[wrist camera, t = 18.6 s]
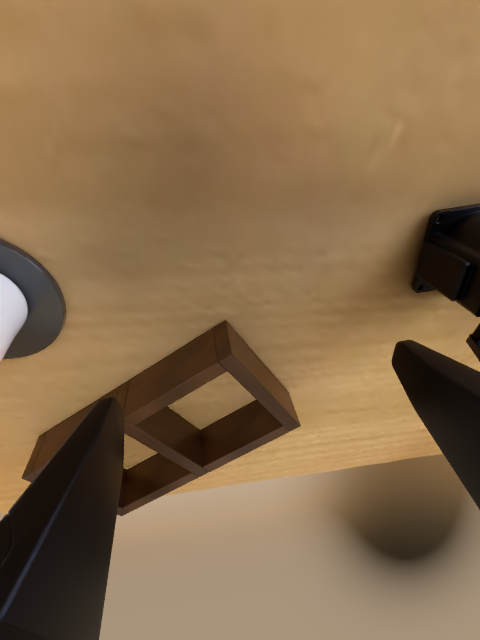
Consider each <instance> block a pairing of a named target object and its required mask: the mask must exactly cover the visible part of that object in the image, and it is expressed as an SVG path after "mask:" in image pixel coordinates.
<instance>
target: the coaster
mask: <svg viewBox="0 0 480 640" xmlns="http://www.w3.org/2000/svg"><path fill="white" fill-rule="evenodd" d="M0 273H1V274H2V275H4V276H6V277H7V278H8V279H10V280H11V281H12V282H13V283H14V284H15V285H16V286H17V287H18V288H19V289H20V290H21V292H22V293H23V295H24V297H25V299H26V302H27V306H28V314H27V319H26V321H25V323H24V325H23V326H22V328H21V329H20V331H19V332H18V334H17V335H16V336H15V338H14V340H13V341H12V343H11V345H10V347H9V349H8V350H7V352H6V354H5V356H4V358H3V359H12V358H20V357H25V356H29V355H32V354H35V353H37V352H39V351H41V350H43V349H45V348H46V347H48V346H49V345H50V344H51V343H52V342H53V341H54V340H55V339H56V338H57V336H58V335H59V333H60V331H61V329H62V327H63V325H64V321H65V313H66V311H65V303H64V299H63V296H62V294H61V291H60V289H59V287H58V286H57V284H56V282H55V281H54V279H53V278H52V277H51V275H50V274H49V273H48V272H47V271H46V270H45V269H44V268H43V267H42V266H41V265H40V264H39V263H38V262H37V261H36V260H34V259H33V258H32V257H31V256H29V255H28V254H26V253H25V252H23V251H22V250H20V249H19V248H17V247H15V246H13V245H11V244H9V243H7V242H5V241H3V240H0Z"/></svg>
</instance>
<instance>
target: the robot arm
mask: <svg viewBox="0 0 480 640" xmlns="http://www.w3.org/2000/svg"><path fill="white" fill-rule="evenodd" d="M439 216H440V217H439ZM438 217H439V219H438V220H437V218H438ZM436 220H437V221H436ZM419 285H420V286H419ZM418 286H419V287H418ZM412 290H414V291H415V292H416V293H421V292H426V291H432V290H437V291H439V292H440V293H441V294H443V295H444V296H445V297H447V298H448V299H449V300H451V301H456V302H457V303H459V304H460V305H461V306H463V307H464V308H466V309H467V310H468V311H470V312H471V313H472V314H474V315H475V316H476V317H480V204H474V205H468V206H462V207H456V208H449V209H443V210H437V211H435V212H434V213H432V215H431V216H430V218H429V222H428V226H427V229H426V233H425V237H424V241H423V245H422V248H421V252H420V256H419V260H418V264H417V267H416V271H415V275H414V279H413V283H412ZM466 342H467V343H468V345H469V346H470V348H471V349H472V351H473V352H474V354H475V355H476V357H477V358H478V360H479V361H480V323H479V325H478V326H477V328H476V329H475V331H474V332H473V334H470V335H469V337H468V338H467V340H466ZM392 366H393V368H394V370H395V372H396V374H397V376H398V378H399V380H400V382H401V384H402V386H403V388H404V390H405V392H406V394H407V396H408V398H409V400H410V402H411V404H412V405H413V407H414V409H415V411H416V412H417V414H418V415H419V417H420V418H421V420H422V422H423V423H424V425H425V426H426V428H427V429H428V431H429V432H430V434H431V435H432V437H433V438H434V440H435V442H436V443H437V445H438V446H439V448H440V449H441V451H442V452H443V454H444V455H445V457H446V458H447V460H448V462H449V463H450V465H451V466H452V468H453V469H454V471H455V472H456V474H457V475H458V477H459V478H460V480H461V482H462V483H463V485H464V486H465V488H466V489H467V491H468V492H469V494H470V495H471V497H472V498H473V500H474V502H475V503H476V505H477V506H478V508H479V509H480V372H479V371H476V370H474V369H472V368H470V367H468V366H466V365H464V364H462V363H459V362H457V361H455V360H453V359H451V358H449V357H447V356H445V355H442V354H440V353H438V352H436V351H434V350H432V349H430V348H427V347H425V346H423V345H421V344H419V343H417V342H415V341H412V340H405V341H399V342H397V344H396V346H395V349H394V353H393V357H392ZM124 423H125V419H124V413H123V411H122V409H121V407H120V405H119V404H118V402H117V400H116V398H115V397H113V396H111V397H105V398H101V399H99V400H98V401H97V402H96V404H95V405H94V406H93V407H92V409H91V410H90V411H89V412H88V414H87V415H86V416H85V417H84V419H83V420H82V421H81V422H80V423H79V425H78V426H77V427H76V428H75V430H74V431H73V432H72V433H71V435H70V436H69V437H68V438H67V440H66V441H65V442H64V443H63V445H62V446H61V447H60V448H59V449H58V451H57V452H56V453H55V454H54V456H53V457H52V458H51V459H50V461H49V462H48V463H47V464H46V466H45V467H44V468H43V469H42V471H41V472H40V473H39V474H38V475H37V477H36V478H35V479H34V480H33V482H32V483H31V484H30V485H29V487H28V488H27V489H26V490H25V492H24V493H23V494H22V495H21V497H20V498H19V499H18V500H17V501H16V503H15V504H14V505H13V506H12V508H11V509H10V510H9V512H8V514H6V515H5V516H4V517H3V519H2V520H1V521H0V640H99V635H100V628H101V620H102V614H103V607H104V600H105V593H106V586H107V579H108V572H109V565H110V558H111V550H112V544H113V537H114V530H115V523H116V516H117V509H118V502H119V495H120V488H121V481H122V473H123V460H124Z"/></svg>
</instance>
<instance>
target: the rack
mask: <svg viewBox="0 0 480 640" xmlns="http://www.w3.org/2000/svg"><path fill="white" fill-rule="evenodd" d="M226 371H228V372H229V373H230V374H231V375H232V376H233V377H234V378H235V379H236V380H237V381H238V382H239V383H240V384H241V385H242V386H243V387H244V388H245V389H246V390H247V391H248V392H250V393H251V394H252V395H253V396H254V397H255V398H256V399H257V400H256V401H254V402H252V403H251V404H249V405H247V406H245V407H243V408H241V409H240V410H238V411H236V412H234V413H232V414H230V415H228V416H227V417H225V418H223V419H221V420H219V421H217V422H216V423H214V424H212V425H210V426H208V427H206V428H205V429H203V430H201V431H199V430H198V429H197V428H195V427H194V426H192V425H191V424H190V423H188V422H187V421H185V420H184V419H183V418H181V417H180V416H178V415H177V414H176V413H174V412H173V411H172V410H170V409H169V408H167V407H166V406H168V405H170V404H171V403H173V402H175V401H176V400H178V399H180V398H182V397H183V396H185V395H187V394H189V393H190V392H192V391H194V390H195V389H197V388H199V387H201V386H202V385H204V384H206V383H207V382H209V381H211V380H213V379H214V378H216V377H218V376H220V375H221V374H223V373H225V372H226ZM111 396H113V397H115V398H116V400H117V402H118V404H119V405H120V407H121V409H122V411H123V413H124V419H125V423H124V433H125V434H127V435H128V436H130V437H132V438H134V439H135V440H137V441H139V442H140V443H142V444H144V445H146V446H147V447H149V448H151V449H152V450H154V451H156V452H158V453H159V454H157V455H155V456H153V457H151V458H149V459H148V460H146V461H144V462H142V463H140V464H138V465H137V466H135V467H133V468H131V469H129V470H128V471H127V470H125V469H123V473H122V481H121V488H120V495H119V502H118V509H117V515H120V516H123V515H125V514H127V513H129V512H130V511H133V510H135V509H137V508H139V507H141V506H143V505H145V504H147V503H149V502H151V501H153V500H155V499H157V498H159V497H161V496H163V495H165V494H167V493H169V492H171V491H173V490H175V489H177V488H179V487H181V486H183V485H185V484H187V483H188V482H190V481H192V480H194V479H196V478H198V477H200V476H202V475H204V474H206V473H208V472H211V471H213V470H215V469H217V468H218V467H220V466H222V465H224V464H226V463H228V462H230V461H232V460H234V459H236V458H238V457H240V456H242V455H244V454H246V453H248V452H250V451H252V450H254V449H256V448H258V447H260V446H262V445H264V444H266V443H268V442H270V441H272V440H274V439H276V438H278V437H280V436H282V435H284V434H286V433H288V432H289V431H292V430H294V429H296V428H298V427H300V422H299V420H298V417H297V414H296V411H295V409H294V406H293V403H292V400H291V398H290V395H289V392H288V391H287V390H286V389H285V388H284V386H283V385H282V384H281V383H280V382H279V381H278V380H277V378H276V377H275V376H274V375H273V374H272V373H271V372H270V371H269V369H268V368H267V367H266V366H265V365H264V364H263V363H262V361H261V360H260V359H259V358H258V357H257V356H256V355H255V353H254V352H253V351H252V350H251V349H250V348H249V347H248V346H247V344H246V343H245V342H244V341H243V340H242V339H241V338H240V336H239V335H238V334H237V333H236V332H235V331H234V330H233V328H232V327H231V326H230V325H229V324H228V323H227V322H226V321H224V322H222V323H221V324H219V325H217V326H216V327H214V329H211V330H209V331H208V332H206V333H205V334H203V335H201V336H200V337H198V338H197V339H195V340H193V341H192V342H190V343H189V344H187V345H185V346H184V347H182V348H180V349H179V350H177V351H176V352H174V353H172V354H171V355H169V356H168V357H166V358H164V359H163V360H161V361H160V362H158V363H156V364H155V365H153V366H152V367H150V368H148V369H147V370H145V371H144V372H142V373H140V374H139V375H137V376H136V377H134V378H132V379H131V380H129V381H128V382H126V383H124V384H123V385H121V386H120V387H118V388H116V389H115V390H113V391H111V392H110V393H108V394H107V395H105V396H103V397H102V398H105V397H111ZM100 399H101V398H100ZM97 401H98V400H97ZM97 401H95V402H94V403H92V404H90V405H89V406H87V407H86V408H84V409H82V410H81V411H79V412H78V413H76V414H74V415H73V416H71V417H70V418H68V419H66V420H65V421H63V422H62V423H60V424H58V425H57V426H55V427H54V428H52V429H50V430H49V431H47V432H46V433H44V434H42V435H41V436H39V438H38V440H37V443H36V445H35V448H34V450H33V452H32V455H31V457H30V459H29V462H28V464H27V466H26V469H25V471H24V474H23V476H22V479H24V480H27V481H29V482H33V480H34V479H35V478H36V477H37V475H38V474H39V473H40V472H41V471H42V469H43V468H44V467H45V466H46V464H47V463H48V462H49V461H50V459H51V458H52V457H53V456H54V454H55V453H56V452H57V451H58V449H59V448H60V447H61V446H62V445H63V443H64V442H65V441H66V440H67V438H68V437H69V436H70V435H71V433H72V432H73V431H74V430H75V428H76V427H77V426H78V425H79V423H80V422H81V421H82V420H83V419H84V417H85V416H86V415H87V414H88V412H89V411H90V410H91V409H92V407H93V406H94V405H95V404H96V402H97Z"/></svg>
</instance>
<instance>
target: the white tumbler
mask: <svg viewBox="0 0 480 640" xmlns="http://www.w3.org/2000/svg"><path fill="white" fill-rule="evenodd" d="M27 314H28V306H27V302H26V299H25V297H24V295H23V293H22V292H21V290H20V289H19V288H18V287H17V286H16V285H15V284H14V283H13V282H12V281H11V280H10V279H8V278H7V277H6V276H4V275H2V274H1V273H0V364H1V362H2V360H3V358H4V356H5V354H6V352H7V350H8V349H9V347H10V345H11V343H12V341H13V340H14V338H15V336H16V335H17V334H18V332H19V331H20V329H21V328H22V326H23V325H24V323H25V321H26V319H27Z"/></svg>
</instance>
